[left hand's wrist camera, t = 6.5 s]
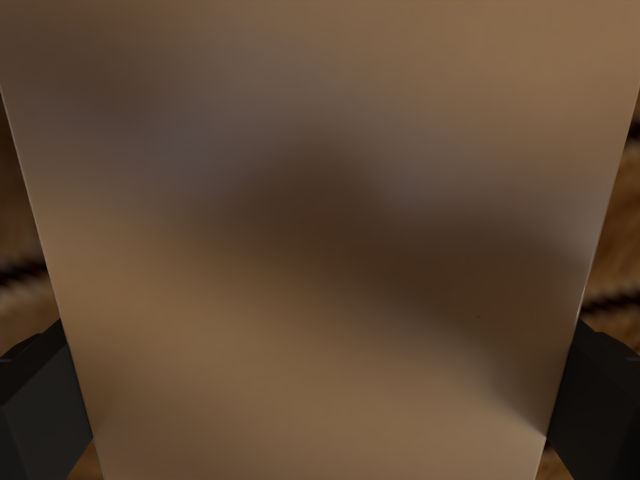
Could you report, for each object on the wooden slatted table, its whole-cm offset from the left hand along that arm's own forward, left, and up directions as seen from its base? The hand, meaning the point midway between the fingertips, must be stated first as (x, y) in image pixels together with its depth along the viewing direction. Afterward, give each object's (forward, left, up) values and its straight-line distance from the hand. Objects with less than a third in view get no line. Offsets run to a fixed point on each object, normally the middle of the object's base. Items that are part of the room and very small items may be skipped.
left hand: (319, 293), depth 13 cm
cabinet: (+1, +5, -5) cm, 7 cm away
